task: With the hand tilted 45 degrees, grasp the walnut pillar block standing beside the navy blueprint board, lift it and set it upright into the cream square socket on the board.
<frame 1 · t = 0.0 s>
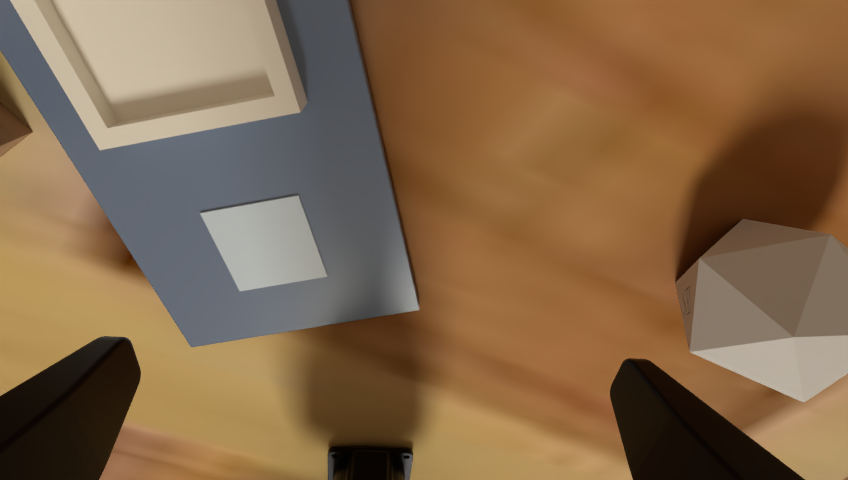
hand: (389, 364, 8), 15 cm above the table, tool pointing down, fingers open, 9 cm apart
blueprint board: (234, 150, 21), on the table
die: (722, 259, 26), on the table
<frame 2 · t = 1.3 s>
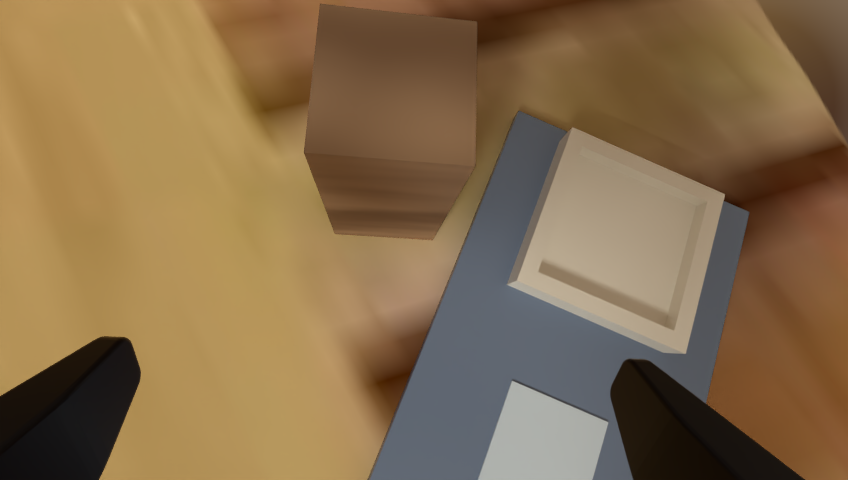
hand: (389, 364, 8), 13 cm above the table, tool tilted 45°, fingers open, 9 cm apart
blueprint board: (568, 350, 22), on the table
pillar: (386, 190, 23), on the table
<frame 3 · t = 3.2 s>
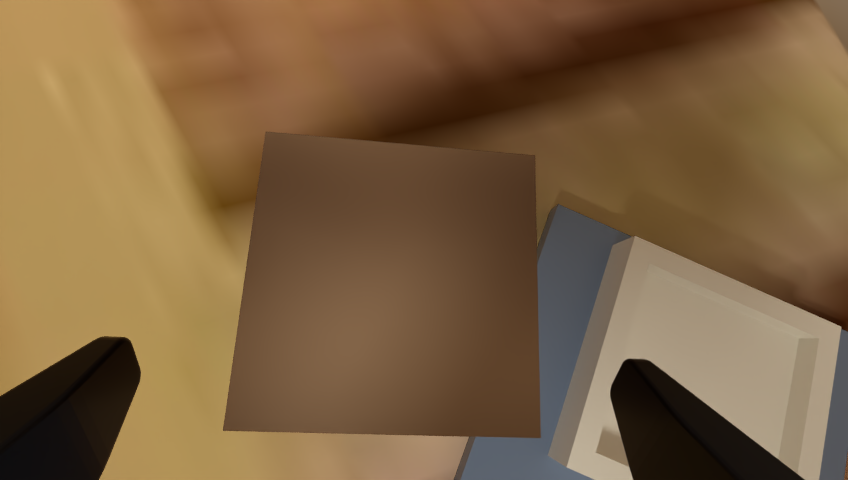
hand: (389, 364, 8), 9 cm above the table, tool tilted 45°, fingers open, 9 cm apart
pillar: (384, 316, 17), on the table
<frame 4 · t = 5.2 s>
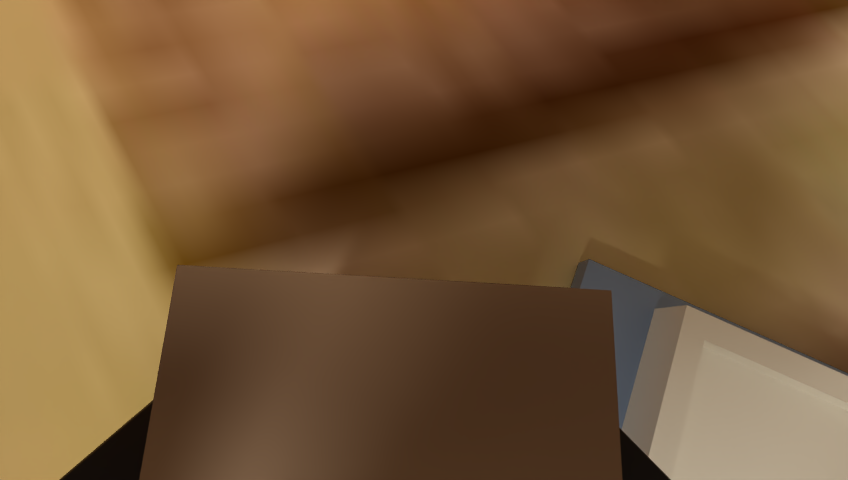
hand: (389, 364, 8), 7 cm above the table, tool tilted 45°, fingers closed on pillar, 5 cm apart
pillar: (379, 398, 14), on the table, touching gripper
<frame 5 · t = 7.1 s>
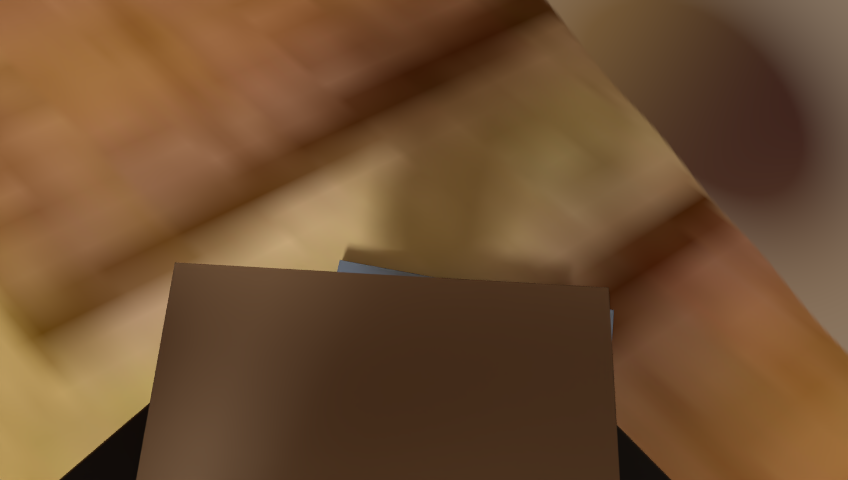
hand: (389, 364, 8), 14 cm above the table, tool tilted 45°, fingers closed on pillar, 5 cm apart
pillar: (379, 397, 14), point 7 cm above the table, touching gripper
when the fingers open (9 cm above the table, at t = 9.5 s): pillar stays where it is, resting on blueprint board.
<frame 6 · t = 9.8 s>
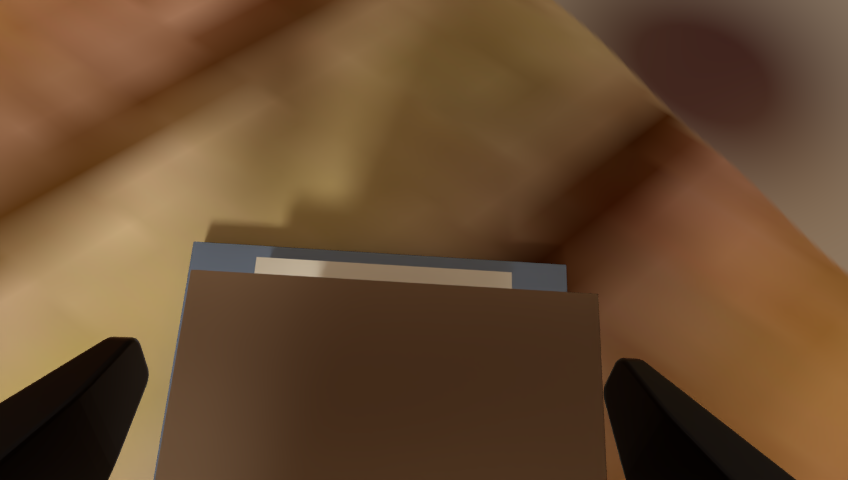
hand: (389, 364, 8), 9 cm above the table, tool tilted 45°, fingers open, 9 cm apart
pillar: (380, 396, 14), point 2 cm above the table, touching blueprint board
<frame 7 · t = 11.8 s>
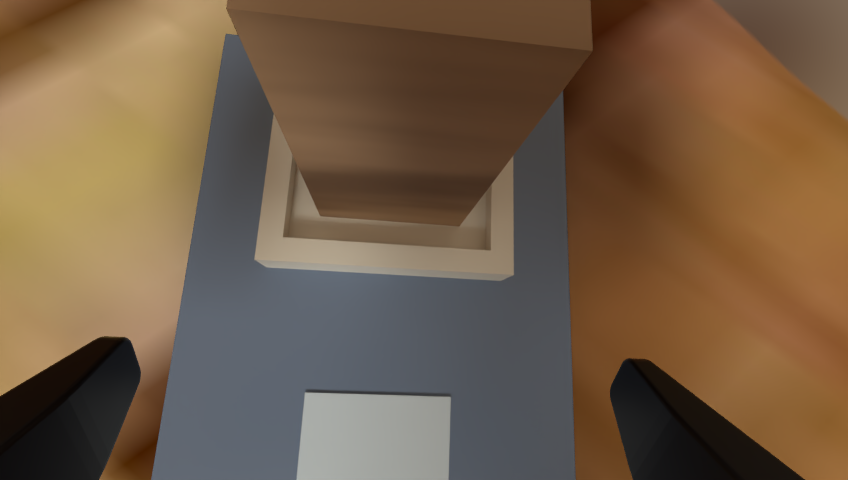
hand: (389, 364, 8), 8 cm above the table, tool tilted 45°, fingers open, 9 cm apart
blueprint board: (383, 322, 16), on the table
pillar: (395, 156, 16), point 2 cm above the table, touching blueprint board
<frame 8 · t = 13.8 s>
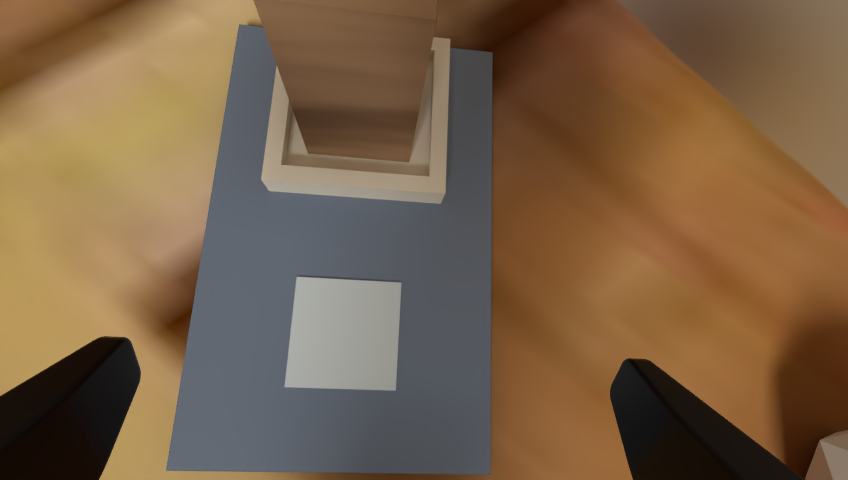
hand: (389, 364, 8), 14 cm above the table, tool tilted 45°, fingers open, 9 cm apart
blueprint board: (354, 233, 22), on the table
pillar: (363, 112, 22), point 2 cm above the table, touching blueprint board
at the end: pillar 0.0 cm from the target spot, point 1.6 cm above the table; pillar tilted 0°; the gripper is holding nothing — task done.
